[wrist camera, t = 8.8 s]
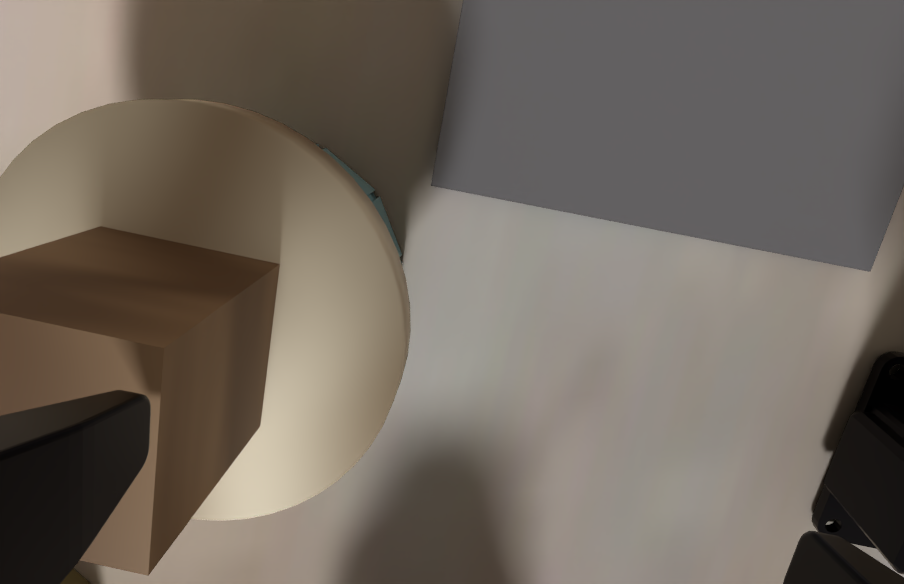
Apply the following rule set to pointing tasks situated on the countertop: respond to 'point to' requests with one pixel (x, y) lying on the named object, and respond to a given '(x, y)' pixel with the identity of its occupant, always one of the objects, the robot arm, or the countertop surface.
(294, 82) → the countertop surface
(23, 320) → the wooden lid
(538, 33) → the rubber mat
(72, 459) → the robot arm
